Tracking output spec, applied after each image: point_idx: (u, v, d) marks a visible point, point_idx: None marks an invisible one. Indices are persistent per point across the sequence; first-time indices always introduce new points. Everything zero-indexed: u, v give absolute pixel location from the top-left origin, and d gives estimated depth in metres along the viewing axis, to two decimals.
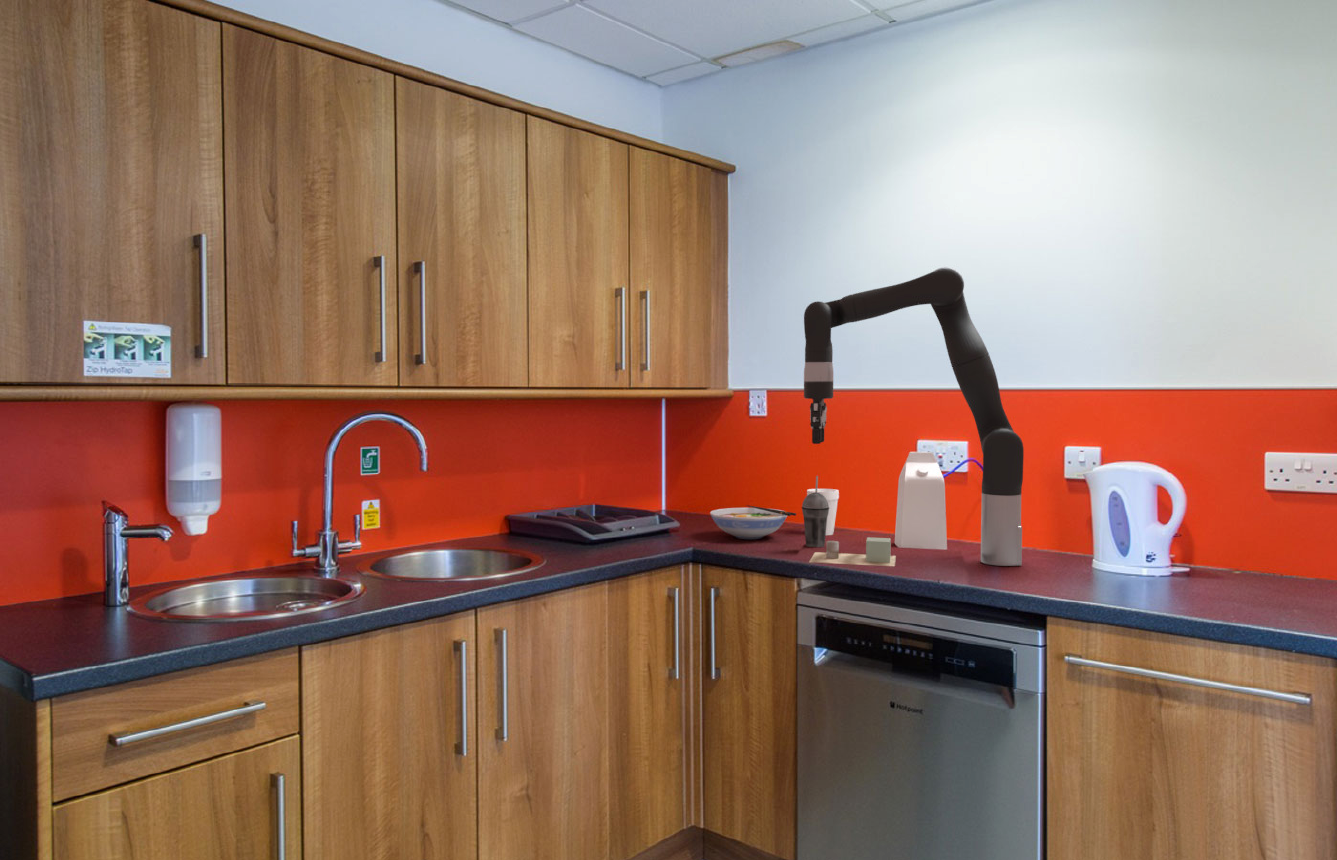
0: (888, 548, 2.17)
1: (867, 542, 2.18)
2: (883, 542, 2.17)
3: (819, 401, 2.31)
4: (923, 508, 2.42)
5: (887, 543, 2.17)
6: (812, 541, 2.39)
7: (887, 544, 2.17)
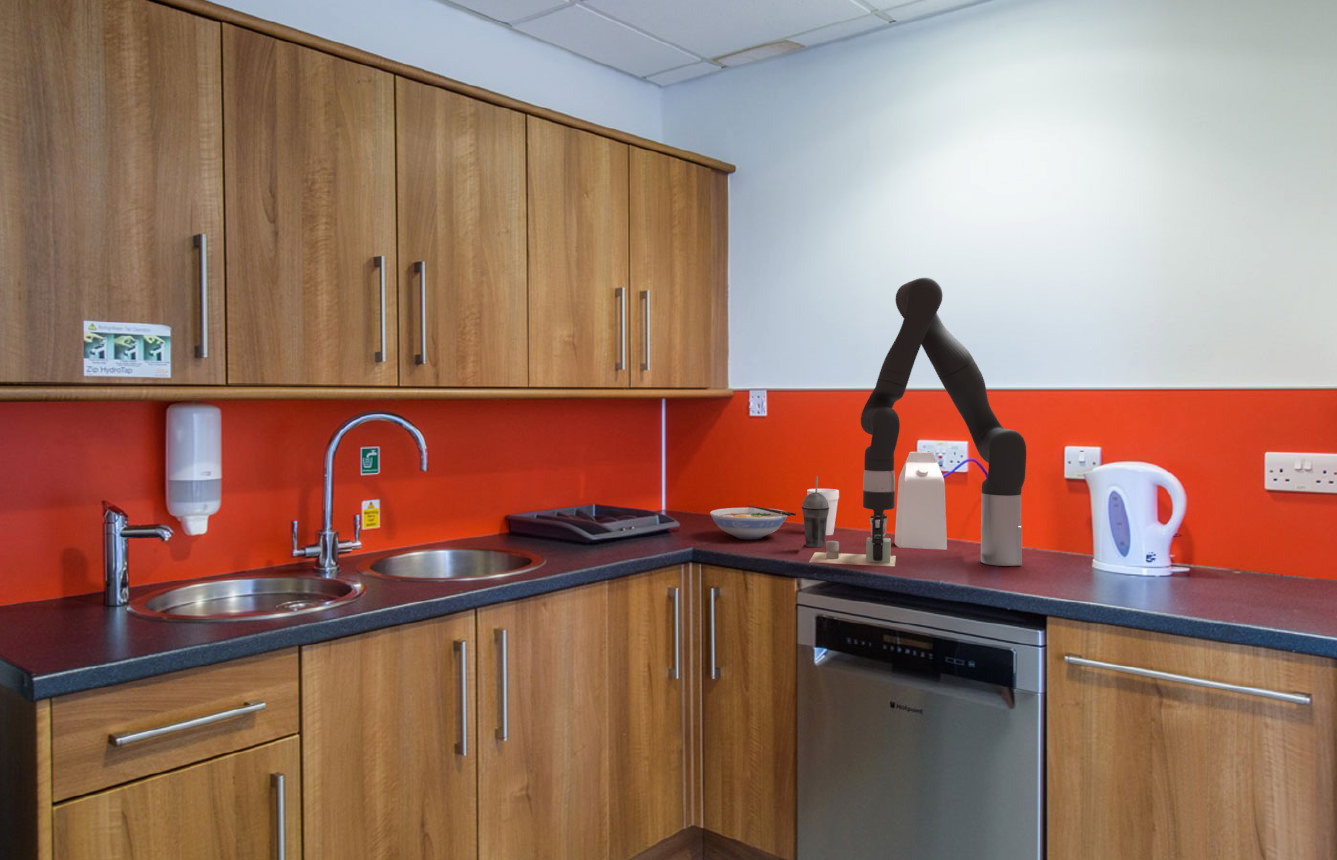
0: (888, 548, 2.17)
1: (867, 542, 2.18)
2: None
3: (880, 513, 2.16)
4: (923, 508, 2.42)
5: (887, 543, 2.17)
6: (812, 541, 2.39)
7: (887, 544, 2.17)
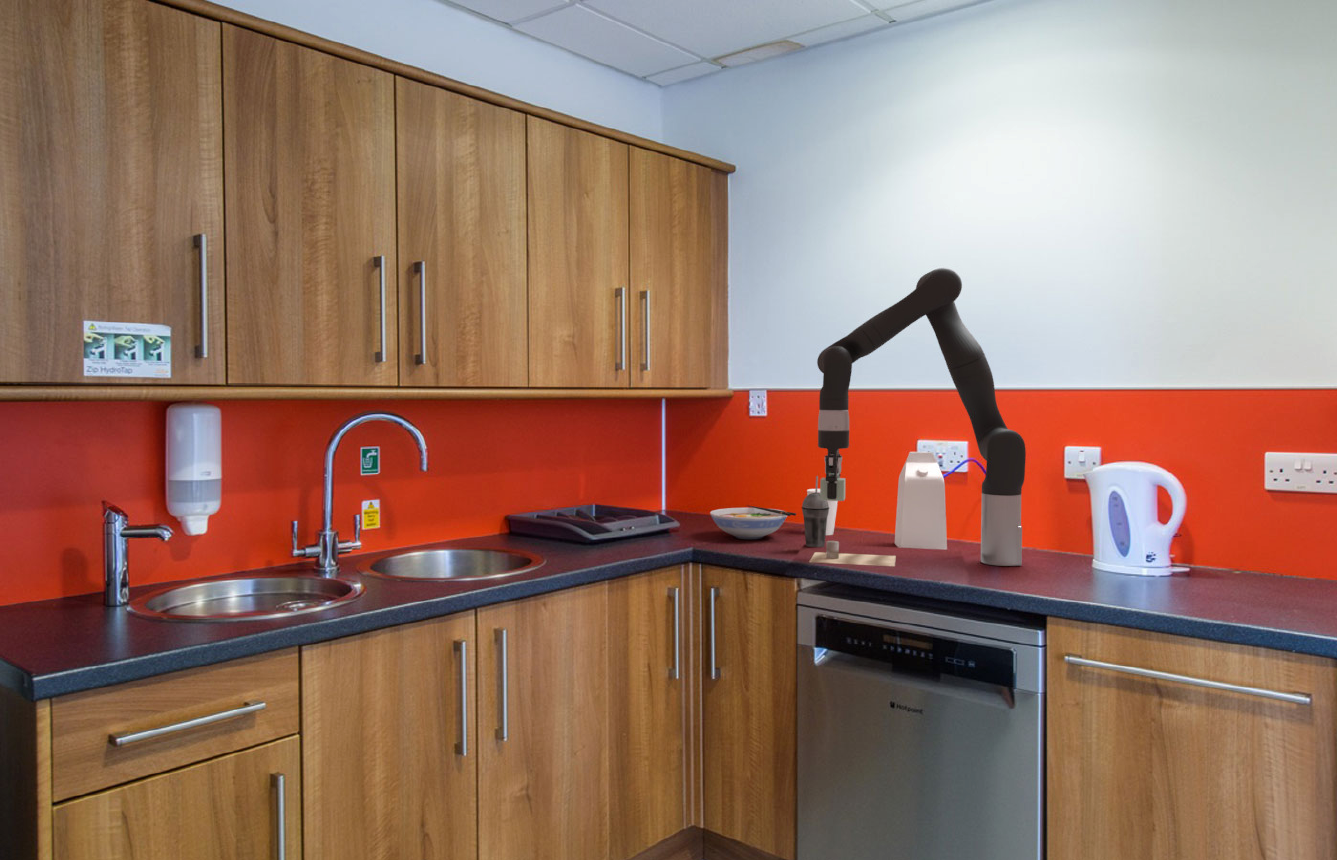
0: (842, 486, 2.19)
1: (821, 481, 2.20)
2: None
3: (834, 451, 2.18)
4: (923, 508, 2.42)
5: (841, 481, 2.19)
6: (812, 541, 2.39)
7: (841, 482, 2.19)
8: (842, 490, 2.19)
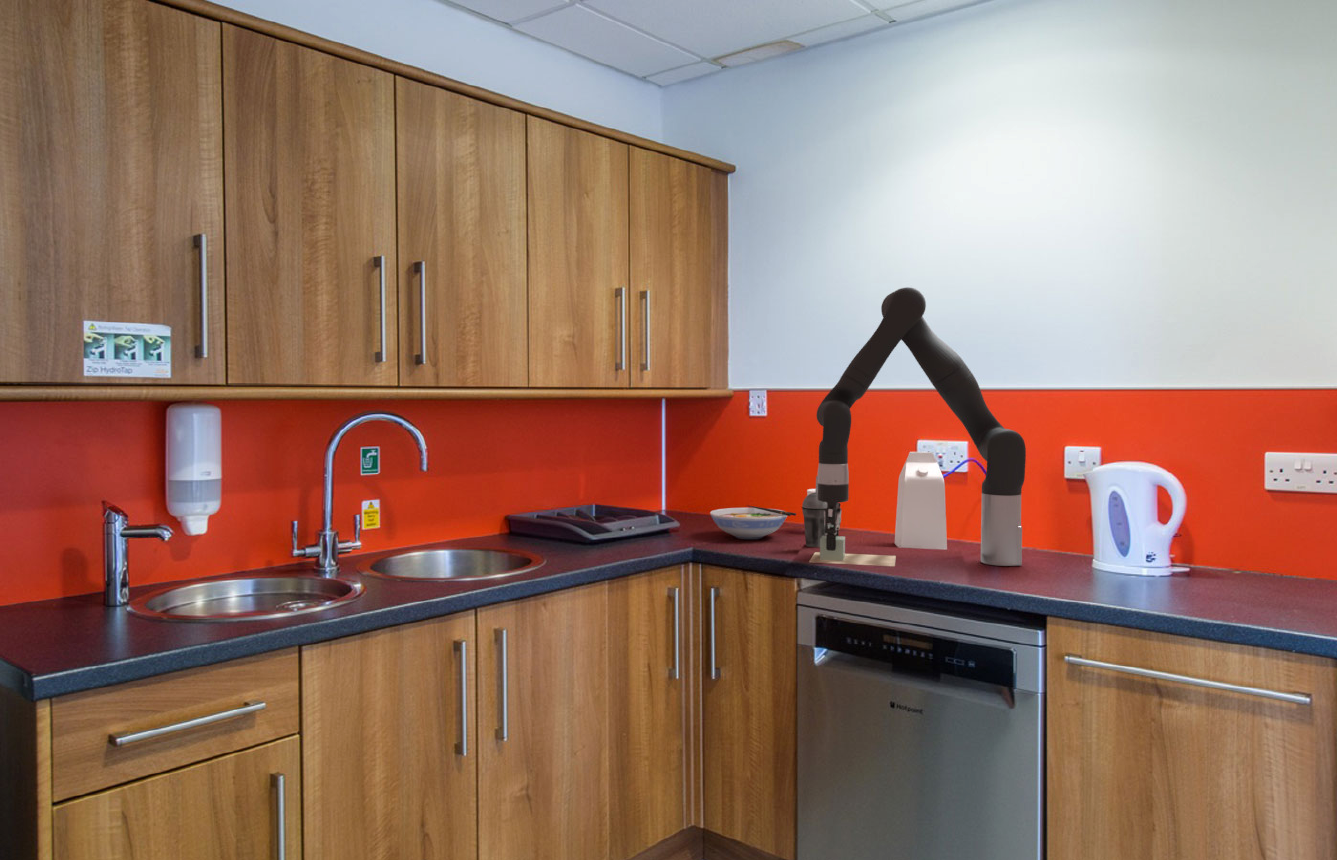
0: (841, 546, 2.20)
1: (821, 540, 2.21)
2: (836, 540, 2.20)
3: (834, 505, 2.19)
4: (923, 508, 2.42)
5: (840, 541, 2.20)
6: (812, 541, 2.39)
7: (840, 542, 2.20)
8: (842, 550, 2.20)
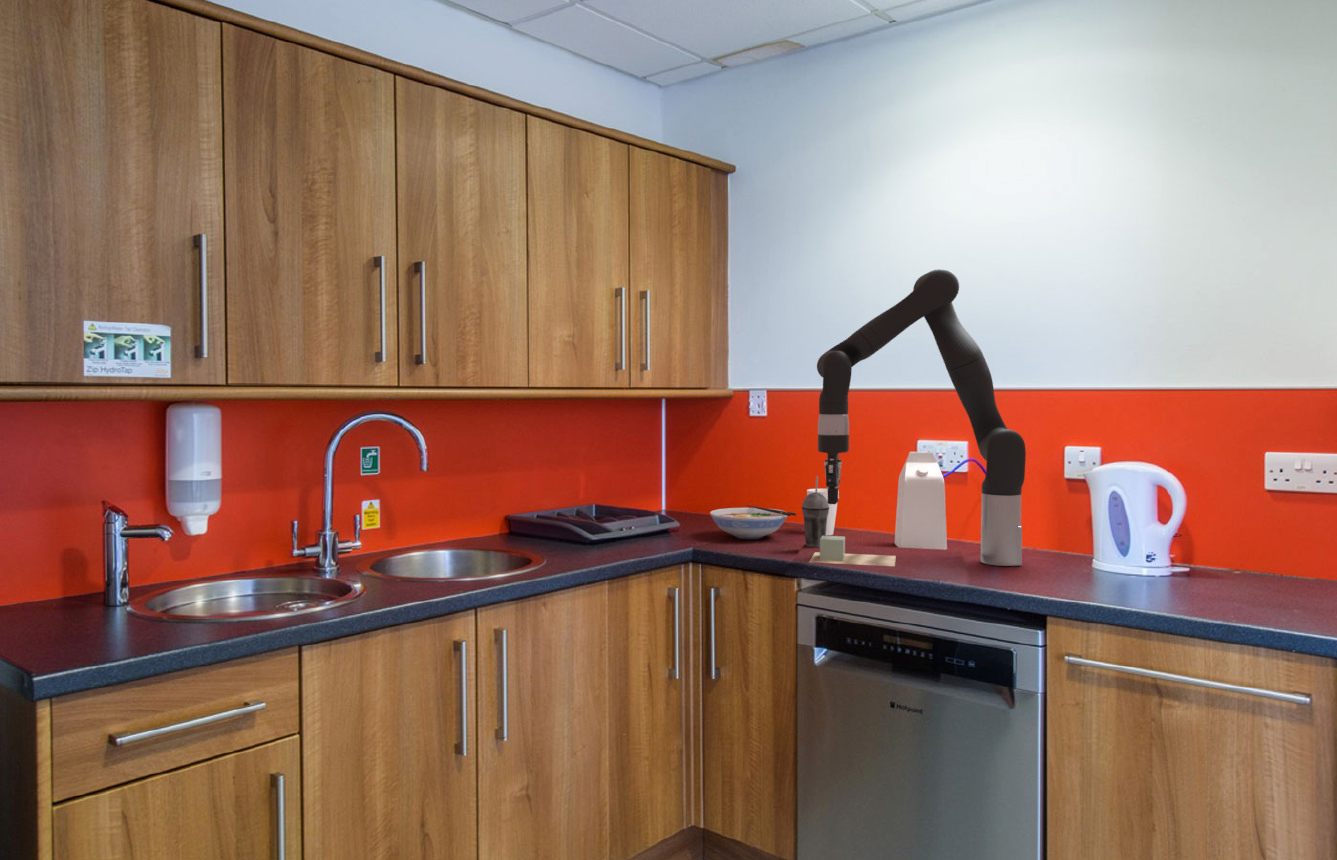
0: (841, 546, 2.20)
1: (821, 540, 2.21)
2: (836, 540, 2.20)
3: (834, 456, 2.18)
4: (923, 508, 2.42)
5: (840, 541, 2.20)
6: (812, 541, 2.39)
7: (840, 542, 2.20)
8: (842, 550, 2.20)
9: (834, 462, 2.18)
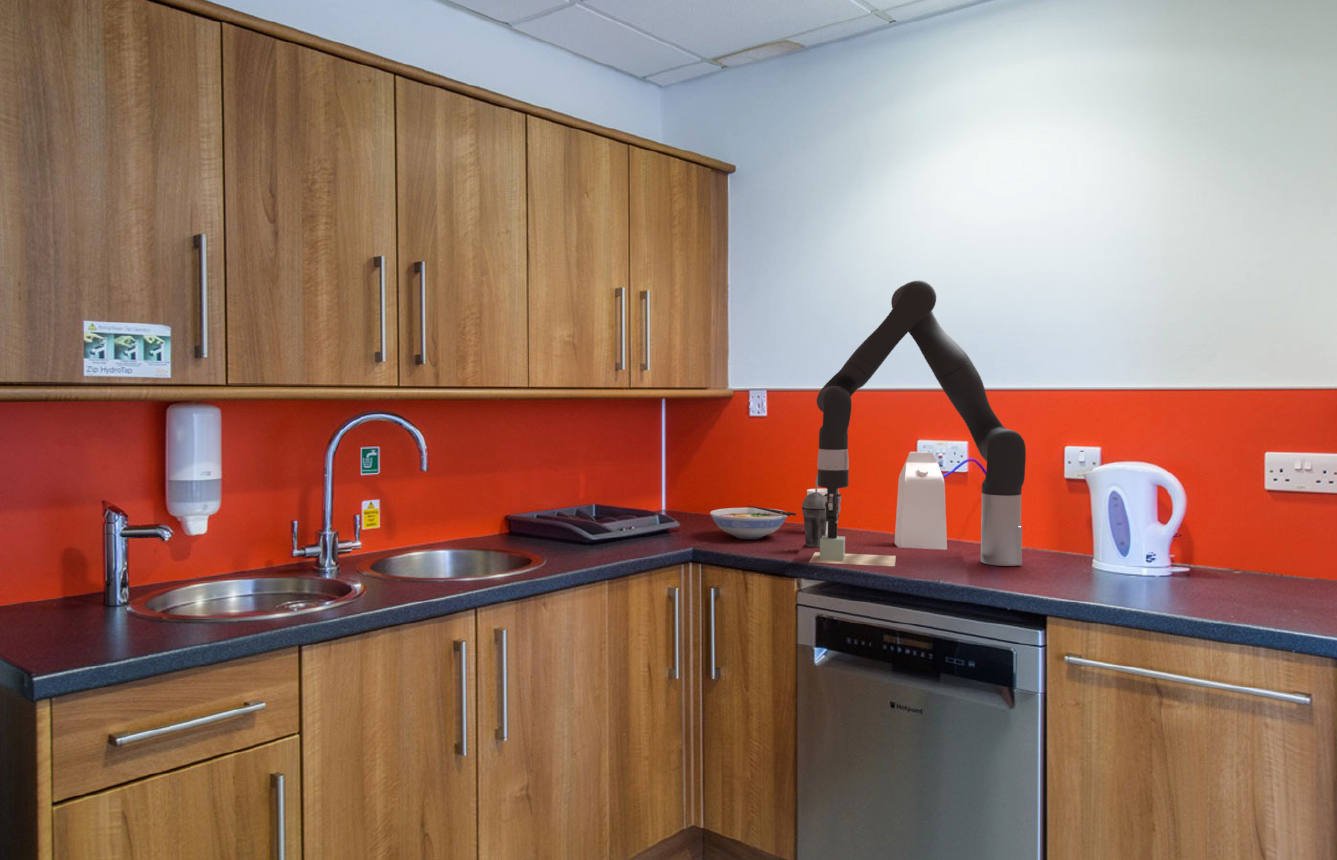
0: (841, 546, 2.20)
1: (821, 540, 2.21)
2: (836, 540, 2.20)
3: (834, 491, 2.19)
4: (923, 508, 2.42)
5: (840, 541, 2.20)
6: (812, 541, 2.39)
7: (840, 542, 2.20)
8: (842, 550, 2.20)
9: (834, 498, 2.19)
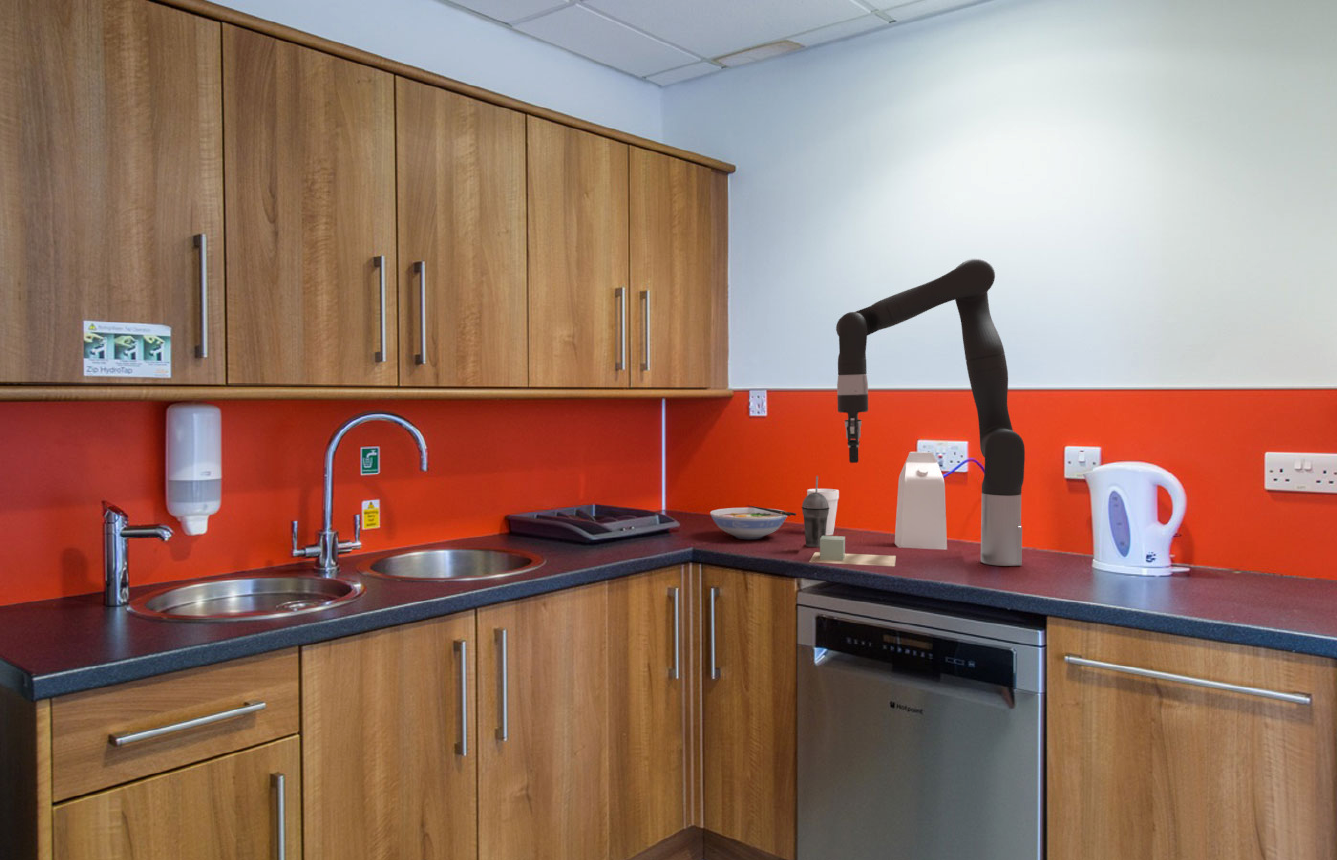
0: (841, 546, 2.20)
1: (821, 540, 2.21)
2: (836, 540, 2.20)
3: (855, 415, 2.23)
4: (923, 508, 2.42)
5: (840, 541, 2.20)
6: (812, 541, 2.39)
7: (840, 542, 2.20)
8: (842, 550, 2.20)
9: (855, 422, 2.23)
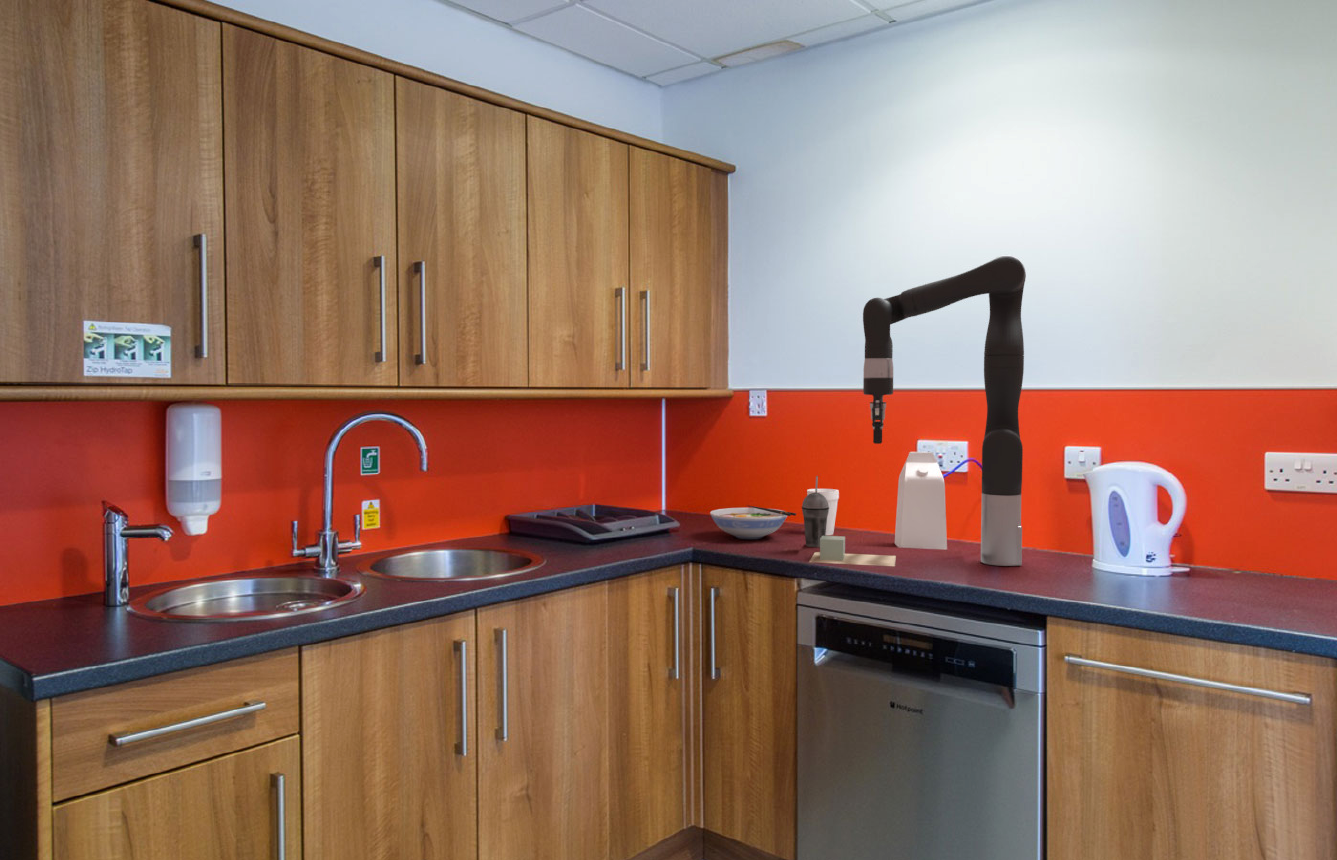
0: (841, 546, 2.20)
1: (821, 540, 2.21)
2: (836, 540, 2.20)
3: (880, 397, 2.31)
4: (923, 508, 2.42)
5: (840, 541, 2.20)
6: (812, 541, 2.39)
7: (840, 542, 2.20)
8: (842, 550, 2.20)
9: (880, 404, 2.30)
